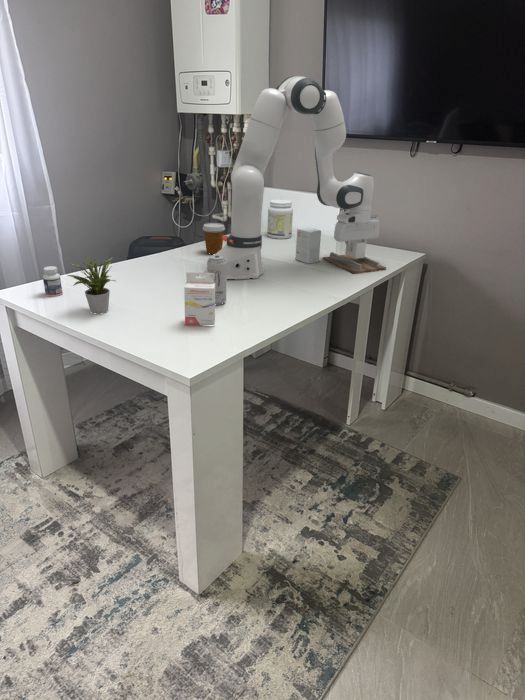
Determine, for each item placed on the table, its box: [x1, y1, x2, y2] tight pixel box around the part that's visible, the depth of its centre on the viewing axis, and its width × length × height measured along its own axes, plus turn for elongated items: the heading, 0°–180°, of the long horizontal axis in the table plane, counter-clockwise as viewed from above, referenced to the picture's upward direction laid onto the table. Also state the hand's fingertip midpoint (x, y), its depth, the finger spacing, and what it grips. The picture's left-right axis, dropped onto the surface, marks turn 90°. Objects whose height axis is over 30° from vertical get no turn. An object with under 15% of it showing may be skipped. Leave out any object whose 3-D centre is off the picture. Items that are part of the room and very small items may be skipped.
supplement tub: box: [266, 199, 294, 240], centre depth 244 cm, size 12×12×17 cm
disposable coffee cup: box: [202, 222, 226, 254], centre depth 213 cm, size 10×10×12 cm
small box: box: [295, 226, 322, 265], centre depth 208 cm, size 8×6×13 cm
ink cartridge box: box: [183, 271, 216, 326], centre depth 143 cm, size 9×5×15 cm, turn 92°
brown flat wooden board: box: [322, 251, 387, 275], centre depth 207 cm, size 16×22×3 cm
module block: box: [344, 240, 367, 259], centre depth 204 cm, size 4×7×6 cm, turn 27°
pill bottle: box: [42, 265, 64, 298], centre depth 162 cm, size 5×5×9 cm
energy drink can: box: [206, 255, 227, 305], centre depth 159 cm, size 6×6×15 cm
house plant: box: [67, 257, 116, 315], centre depth 150 cm, size 14×14×16 cm
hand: (355, 250), depth 205 cm, fingers closed on module block, 4 cm apart
